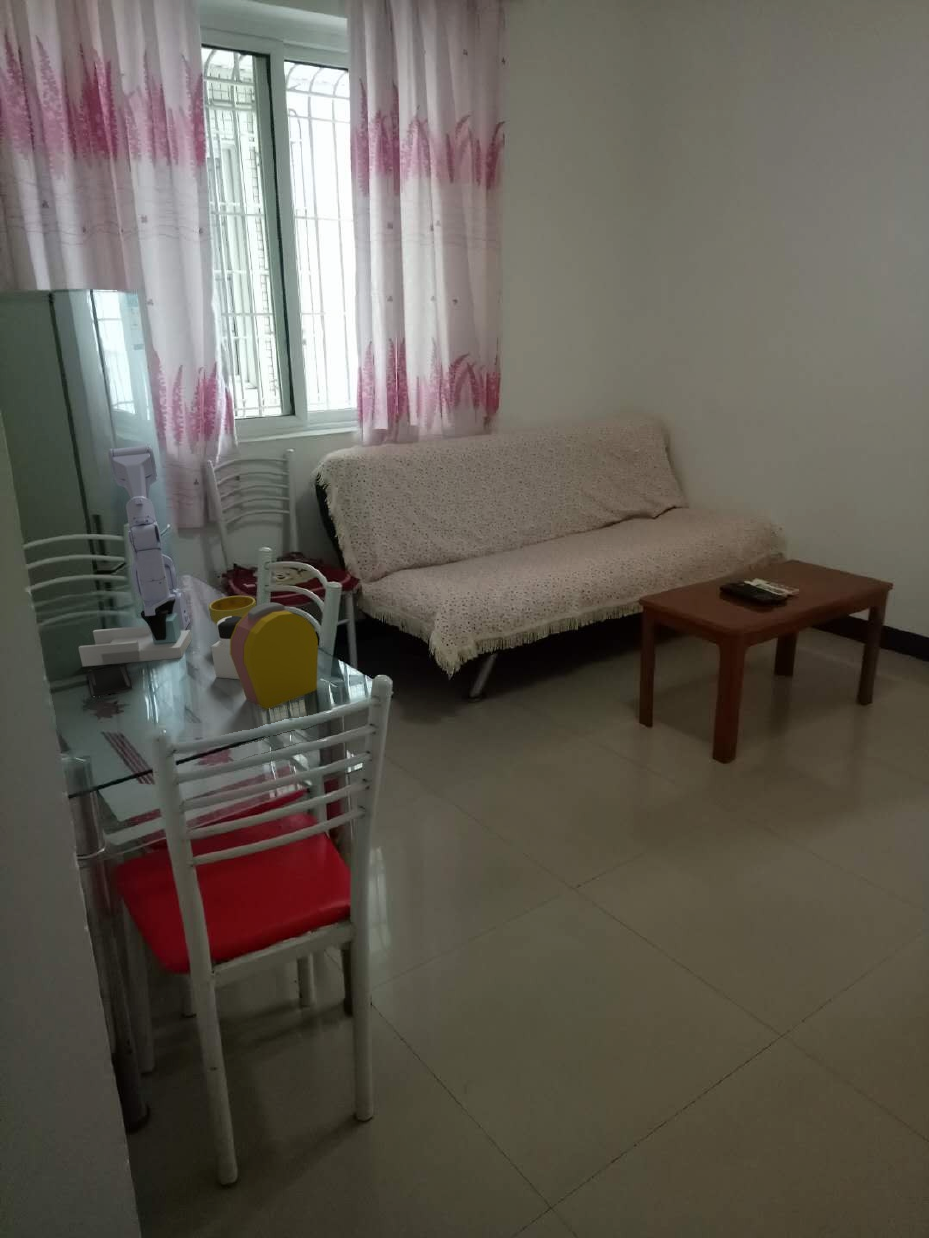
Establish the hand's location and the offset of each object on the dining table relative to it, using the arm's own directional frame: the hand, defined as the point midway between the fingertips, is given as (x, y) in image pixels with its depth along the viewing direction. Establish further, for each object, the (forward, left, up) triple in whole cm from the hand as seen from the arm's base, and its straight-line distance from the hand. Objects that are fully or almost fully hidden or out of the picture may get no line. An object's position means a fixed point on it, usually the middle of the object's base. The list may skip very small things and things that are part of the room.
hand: (164, 635), depth 192 cm
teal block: (-1, 0, -1) cm, 1 cm away
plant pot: (-16, -1, -4) cm, 16 cm away
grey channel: (+6, 0, -4) cm, 7 cm away
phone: (+8, +16, -4) cm, 18 cm away
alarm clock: (-29, +30, -4) cm, 42 cm away
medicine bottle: (-19, +17, -4) cm, 26 cm away
